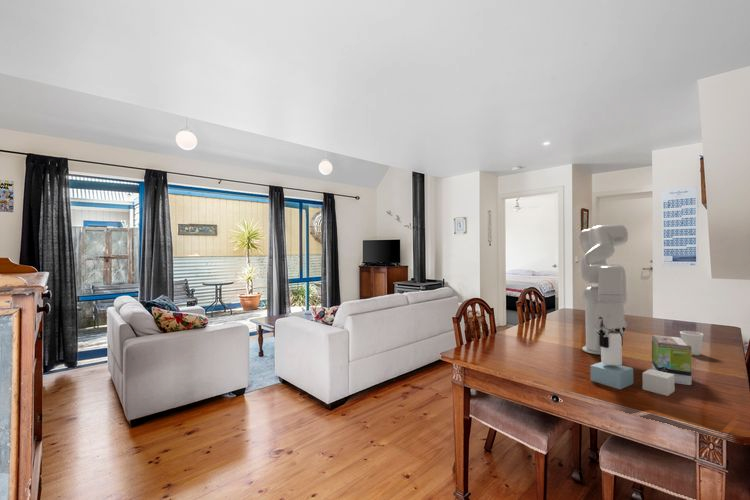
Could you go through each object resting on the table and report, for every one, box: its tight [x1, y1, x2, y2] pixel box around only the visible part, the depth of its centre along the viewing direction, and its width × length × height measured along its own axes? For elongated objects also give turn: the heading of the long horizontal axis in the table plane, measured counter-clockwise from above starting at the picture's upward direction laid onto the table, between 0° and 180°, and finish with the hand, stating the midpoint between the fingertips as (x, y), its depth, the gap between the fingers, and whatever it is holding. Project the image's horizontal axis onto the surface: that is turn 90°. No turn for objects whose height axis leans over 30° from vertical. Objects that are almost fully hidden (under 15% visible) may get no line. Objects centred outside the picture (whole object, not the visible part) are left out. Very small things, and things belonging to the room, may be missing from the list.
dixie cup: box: [679, 330, 704, 356], centre depth 163 cm, size 8×8×10 cm
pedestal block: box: [590, 361, 634, 390], centre depth 129 cm, size 10×10×6 cm
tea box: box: [651, 334, 693, 386], centre depth 133 cm, size 15×10×15 cm
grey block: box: [641, 368, 676, 397], centre depth 121 cm, size 7×7×6 cm
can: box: [600, 329, 623, 366], centre depth 129 cm, size 6×6×12 cm
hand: (611, 345), depth 129 cm, fingers closed on can, 6 cm apart
